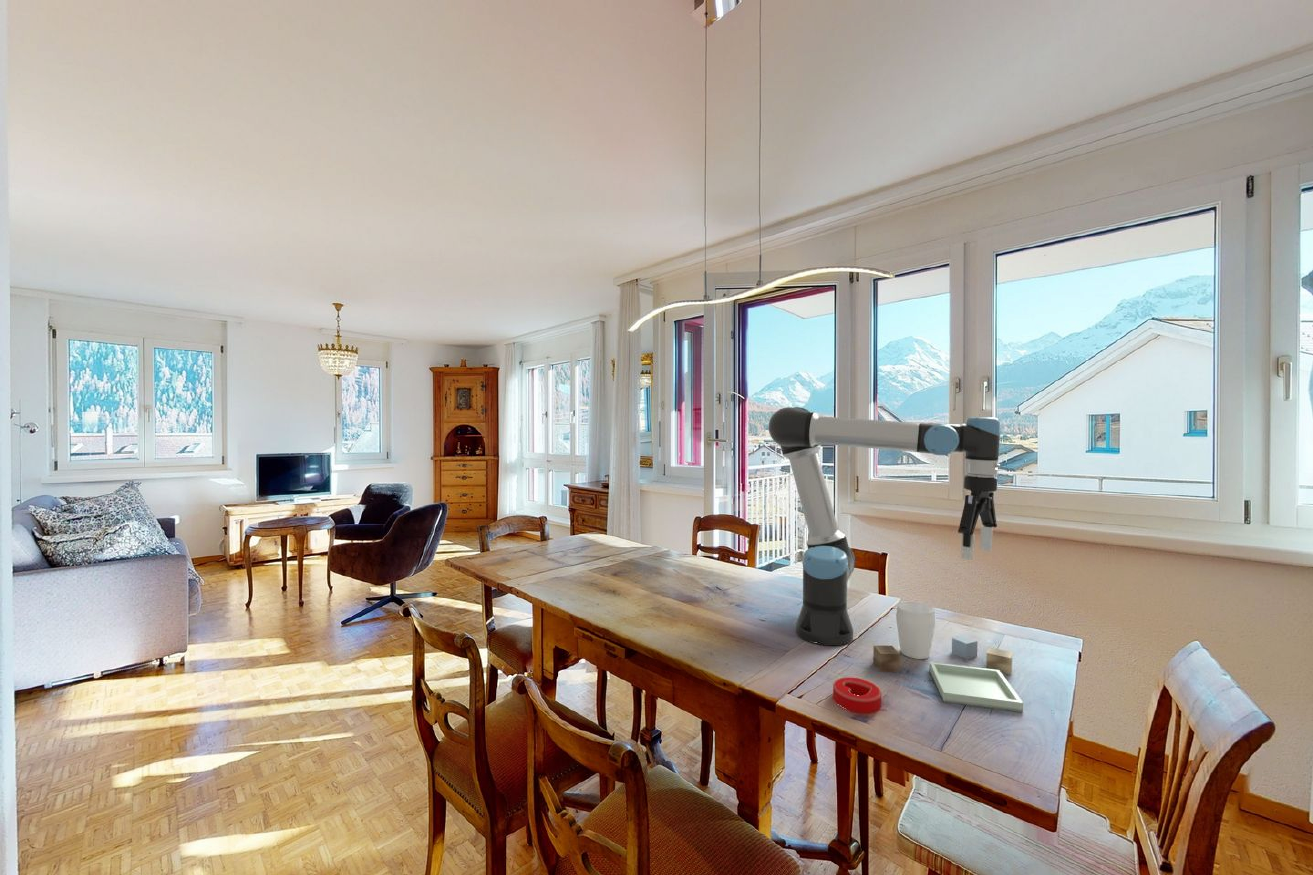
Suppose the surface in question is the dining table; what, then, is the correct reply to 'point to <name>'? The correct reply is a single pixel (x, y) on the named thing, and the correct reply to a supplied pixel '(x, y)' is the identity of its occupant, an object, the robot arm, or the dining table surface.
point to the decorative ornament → (860, 704)
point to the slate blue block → (964, 647)
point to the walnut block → (886, 658)
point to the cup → (915, 628)
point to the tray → (975, 687)
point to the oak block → (999, 660)
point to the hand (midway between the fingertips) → (976, 554)
